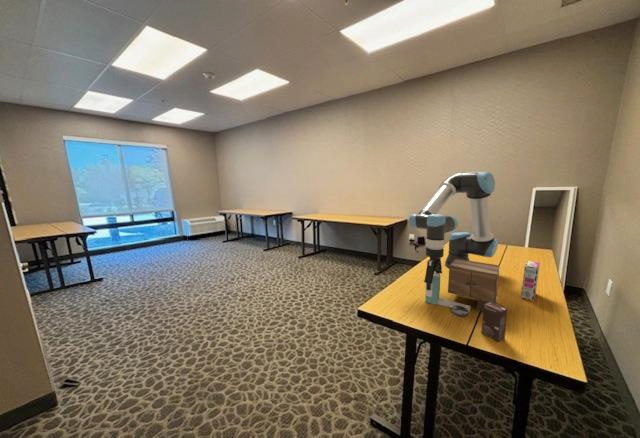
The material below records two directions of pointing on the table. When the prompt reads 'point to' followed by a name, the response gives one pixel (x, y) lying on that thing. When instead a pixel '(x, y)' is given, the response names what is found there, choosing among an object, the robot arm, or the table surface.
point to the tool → (437, 300)
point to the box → (494, 321)
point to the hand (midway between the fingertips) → (432, 290)
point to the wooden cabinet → (474, 281)
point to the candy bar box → (530, 280)
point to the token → (460, 311)
